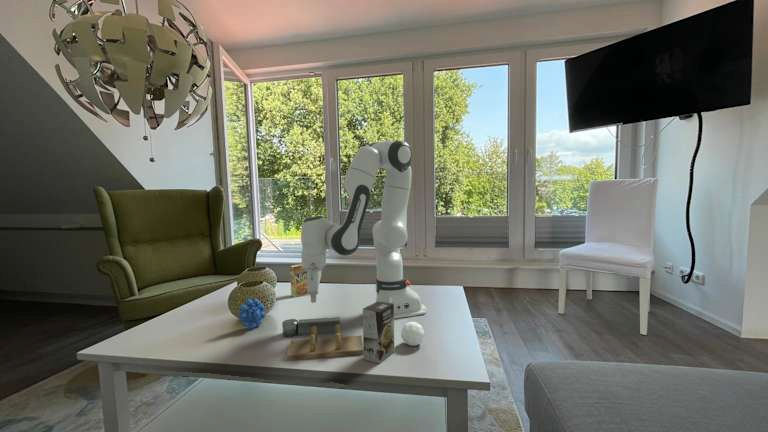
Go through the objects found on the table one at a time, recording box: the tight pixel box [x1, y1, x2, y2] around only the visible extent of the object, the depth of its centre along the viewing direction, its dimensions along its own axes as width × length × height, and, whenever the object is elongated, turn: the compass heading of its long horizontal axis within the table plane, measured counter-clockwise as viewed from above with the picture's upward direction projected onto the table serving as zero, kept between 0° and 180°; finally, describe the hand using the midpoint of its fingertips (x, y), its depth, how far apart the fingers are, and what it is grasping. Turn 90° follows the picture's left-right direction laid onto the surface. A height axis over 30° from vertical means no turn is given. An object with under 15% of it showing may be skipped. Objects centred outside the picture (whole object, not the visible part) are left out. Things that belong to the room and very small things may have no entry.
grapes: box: [238, 298, 266, 330], centre depth 135 cm, size 12×7×12 cm, turn 148°
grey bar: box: [281, 316, 341, 338], centre depth 131 cm, size 21×6×4 cm, turn 97°
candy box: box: [289, 263, 310, 298], centre depth 177 cm, size 9×4×15 cm, turn 126°
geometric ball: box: [400, 321, 425, 347], centre depth 119 cm, size 8×8×8 cm
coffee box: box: [362, 301, 395, 364], centre depth 112 cm, size 9×6×16 cm
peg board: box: [285, 324, 363, 361], centre depth 117 cm, size 24×11×6 cm, turn 97°
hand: (314, 298), depth 130 cm, fingers open, 8 cm apart
